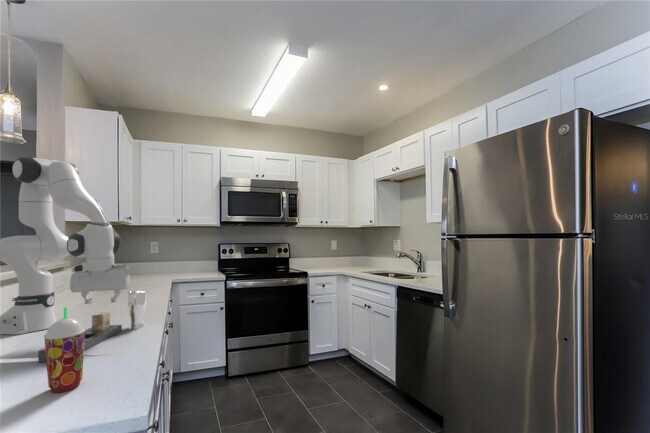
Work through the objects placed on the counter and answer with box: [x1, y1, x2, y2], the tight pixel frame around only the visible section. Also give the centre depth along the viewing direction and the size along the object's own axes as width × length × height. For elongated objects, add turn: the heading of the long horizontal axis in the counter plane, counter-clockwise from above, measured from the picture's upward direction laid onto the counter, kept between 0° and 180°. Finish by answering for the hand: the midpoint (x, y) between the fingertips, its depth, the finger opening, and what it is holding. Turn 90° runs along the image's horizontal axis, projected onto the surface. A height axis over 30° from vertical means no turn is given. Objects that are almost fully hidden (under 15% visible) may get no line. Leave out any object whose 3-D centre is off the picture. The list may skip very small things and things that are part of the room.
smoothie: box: [43, 306, 87, 394], centre depth 86 cm, size 8×8×20 cm
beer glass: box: [126, 289, 147, 330], centre depth 137 cm, size 7×7×15 cm
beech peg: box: [91, 311, 111, 331], centre depth 126 cm, size 4×4×8 cm
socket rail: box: [37, 324, 123, 364], centre depth 117 cm, size 27×10×4 cm, turn 2°
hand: (101, 303), depth 127 cm, fingers open, 8 cm apart
